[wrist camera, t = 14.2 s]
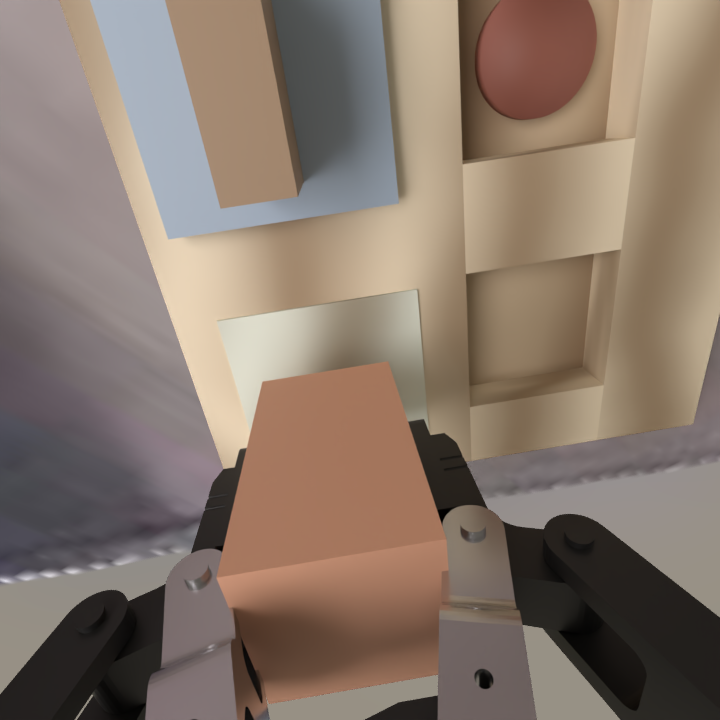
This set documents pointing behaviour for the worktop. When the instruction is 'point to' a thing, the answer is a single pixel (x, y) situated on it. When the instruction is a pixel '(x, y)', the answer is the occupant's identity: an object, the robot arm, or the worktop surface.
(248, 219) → the lid
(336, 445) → the block
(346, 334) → the board
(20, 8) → the worktop surface
